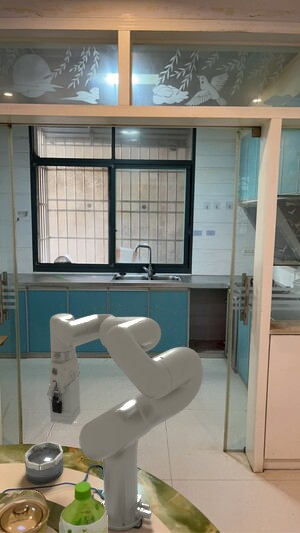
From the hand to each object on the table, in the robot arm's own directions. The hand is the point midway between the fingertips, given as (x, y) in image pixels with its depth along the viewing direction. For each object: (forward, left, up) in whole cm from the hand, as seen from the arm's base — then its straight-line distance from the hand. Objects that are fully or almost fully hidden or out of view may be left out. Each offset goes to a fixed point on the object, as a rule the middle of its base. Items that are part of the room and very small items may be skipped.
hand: (65, 405), depth 116 cm
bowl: (+8, +1, -24) cm, 26 cm away
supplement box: (0, 0, -4) cm, 4 cm away
